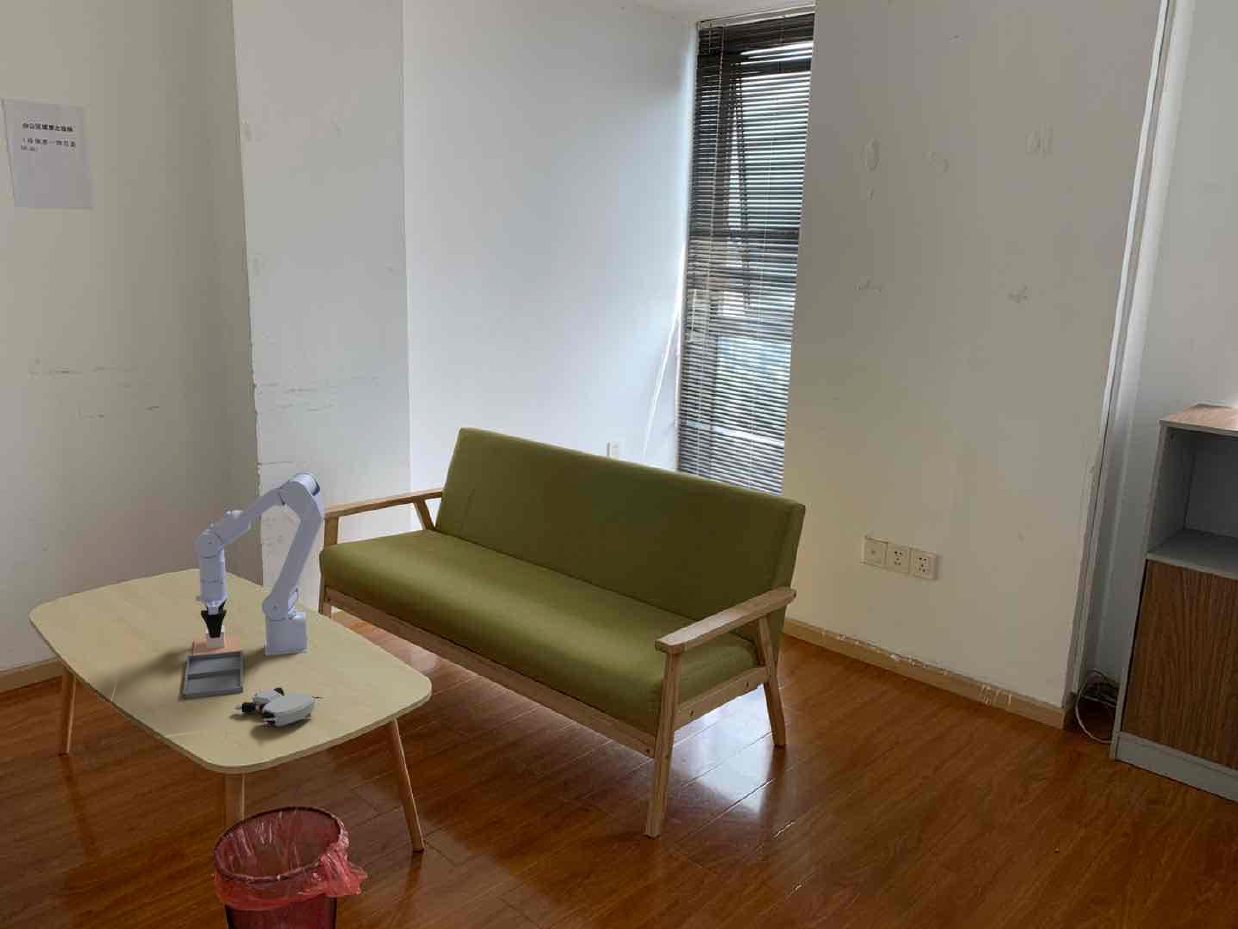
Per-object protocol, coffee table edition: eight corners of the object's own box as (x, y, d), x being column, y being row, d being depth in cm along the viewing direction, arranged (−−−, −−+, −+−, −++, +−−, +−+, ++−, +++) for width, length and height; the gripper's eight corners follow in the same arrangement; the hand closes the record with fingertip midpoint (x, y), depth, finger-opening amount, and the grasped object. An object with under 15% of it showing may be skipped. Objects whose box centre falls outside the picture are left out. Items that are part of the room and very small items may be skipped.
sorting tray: (242, 656, 226) (242, 650, 226) (243, 693, 208) (242, 687, 208) (188, 661, 222) (187, 655, 222) (183, 700, 204) (182, 694, 204)
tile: (238, 636, 237) (238, 634, 237) (238, 653, 228) (238, 650, 228) (195, 641, 233) (194, 638, 233) (193, 657, 224) (192, 655, 224)
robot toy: (231, 720, 199) (279, 737, 191) (229, 700, 198) (277, 716, 190) (279, 698, 209) (326, 714, 201) (278, 679, 208) (325, 694, 200)
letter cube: (225, 640, 233) (224, 625, 232) (224, 647, 229) (223, 631, 228) (207, 642, 232) (206, 626, 231) (206, 648, 228) (205, 633, 227)
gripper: (195, 569, 232) (198, 621, 235) (193, 590, 218) (196, 645, 222) (227, 567, 234) (229, 618, 237) (226, 587, 221) (228, 641, 224)
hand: (215, 631), depth 230 cm, fingers open, 7 cm apart
